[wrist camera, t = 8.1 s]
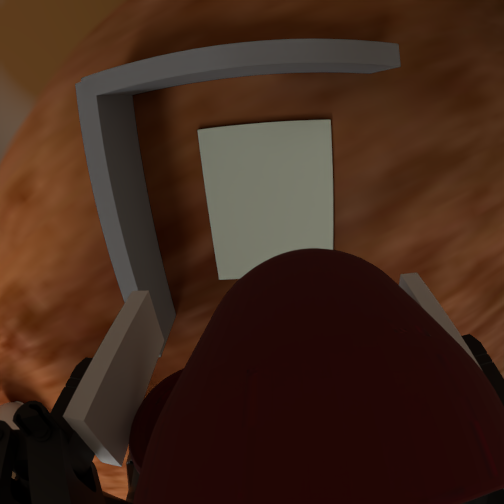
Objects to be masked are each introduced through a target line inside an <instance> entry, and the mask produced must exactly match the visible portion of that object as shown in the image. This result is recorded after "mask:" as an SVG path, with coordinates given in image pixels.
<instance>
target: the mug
mask: <svg viewBox="0 0 504 504" xmlns="http://www.w3.org/2000/svg"><path fill="white" fill-rule="evenodd" d="M129 451H130V456H131V460H132V462H133V464H134V466H135V468H136V470H137V472H138V473H139V474H140V475H139V479H138V483H137V487H136V491H135V495H134V500H133V504H463V503H465V502H468V501H471V500H474V499H476V498H479V497H482V496H484V495H487V494H490V493H492V492H495V491H498V490H501V489H503V488H504V406H503V404H502V402H501V400H500V398H499V396H498V395H497V393H496V391H495V389H494V388H493V386H492V385H491V383H490V381H489V380H488V378H487V377H486V375H485V374H484V372H483V371H482V370H481V368H480V367H479V366H478V365H477V363H476V362H475V361H474V360H473V359H472V357H471V356H470V355H469V354H468V353H467V352H466V351H465V350H464V349H463V348H462V347H461V346H460V344H459V343H458V342H457V341H456V340H455V339H454V338H453V337H452V336H451V335H450V334H449V333H448V332H447V331H446V330H445V329H444V328H443V327H442V326H441V325H440V324H439V323H438V322H437V321H436V320H435V319H434V318H433V317H432V316H431V315H429V314H428V313H427V312H426V311H425V310H424V309H423V308H422V307H421V306H420V305H419V304H418V303H417V302H416V301H415V300H414V299H413V298H412V297H411V296H410V295H409V294H407V293H406V292H405V291H404V290H403V289H402V288H401V287H400V286H399V285H398V284H397V283H396V282H395V281H393V280H392V279H391V278H390V277H389V276H388V275H387V274H385V273H384V272H383V271H382V270H380V269H379V268H377V267H376V266H374V265H373V264H371V263H369V262H367V261H365V260H363V259H362V258H359V257H357V256H354V255H351V254H348V253H344V252H341V251H336V250H331V249H320V248H307V249H298V250H293V251H289V252H285V253H282V254H279V255H277V256H274V257H272V258H270V259H268V260H266V261H264V262H262V263H261V264H259V265H257V266H256V267H254V268H253V269H252V270H250V271H249V272H248V273H246V274H245V275H244V276H243V277H241V278H240V279H239V280H238V281H237V282H236V283H235V284H234V285H233V287H232V288H231V289H230V290H229V291H228V292H227V294H226V295H225V296H224V298H223V299H222V301H221V302H220V304H219V305H218V307H217V309H216V311H215V312H214V314H213V316H212V318H211V320H210V322H209V323H208V325H207V327H206V329H205V331H204V333H203V334H202V336H201V338H200V340H199V342H198V344H197V346H196V347H195V349H194V351H193V353H192V355H191V357H190V359H189V360H188V362H187V364H186V366H185V368H184V369H182V370H179V371H177V372H175V373H173V374H172V375H170V376H169V377H167V378H165V379H164V380H163V381H161V382H160V383H159V384H158V385H157V386H156V387H154V388H153V389H152V390H151V391H150V393H149V394H148V395H147V396H146V398H145V399H144V400H143V402H142V403H141V405H140V407H139V408H138V410H137V413H136V415H135V417H134V420H133V423H132V426H131V431H130V436H129Z"/></svg>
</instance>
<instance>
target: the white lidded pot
mask: <svg viewBox="0 0 504 504" xmlns="http://www.w3.org/2000/svg"><path fill="white" fill-rule="evenodd" d="M23 404H24V403H22V402H20V401H15V402H9V403H5V404H3V405H1V406H0V420H2V421H5V422H6V423H7V424H8V425H9V426H10V427H11V428H12V429H13V430H15V429H19V428H18V427H17V425H16V424H15V423H14V422H13V421H12V420H13V416H14V414H15V412H16V410H17V409H18V408H19V407H20V406H21V405H23Z"/></svg>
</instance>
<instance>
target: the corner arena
mask: <svg viewBox="0 0 504 504" xmlns="http://www.w3.org/2000/svg"><path fill="white" fill-rule="evenodd" d="M397 67H401V65H400V55H399V45H398V44H395V43H386V42H376V41H364V40H347V39H281V40H264V41H252V42H241V43H232V44H224V45H217V46H210V47H203V48H197V49H191V50H186V51H180V52H175V53H170V54H166V55H161V56H156V57H152V58H148V59H144V60H140V61H136V62H132V63H128V64H125V65H121V66H118V67H114V68H111V69H108V70H104V71H101V72H98V73H95V74H92V75H89V76H86V77H83V78H81V81H82V82H79V83H77V84H75V85H76V94H77V103H78V111H79V118H80V125H81V131H82V137H83V143H84V149H85V155H86V160H87V165H88V170H89V175H90V180H91V185H92V189H93V194H94V198H95V202H96V206H97V211H98V215H99V219H100V223H101V226H102V230H103V234H104V238H105V241H106V245H107V248H108V252H109V255H110V259H111V262H112V265H113V269H114V272H115V275H116V278H117V281H118V284H119V287H120V290H121V293H122V296H123V299H124V302H126V301H127V299H128V297H129V296H130V294H131V292H132V291H148V290H149V294H150V297H151V300H152V304H153V307H154V310H155V313H156V316H157V320H158V323H159V326H160V329H161V332H162V335H163V338H164V343H163V346H162V349H161V351H160V354H159V357H161V355H162V352H163V349H164V347H165V344H166V341H167V338H168V336H169V333H170V330H171V328H172V325H173V322H174V319H175V317H176V313H175V309H174V306H173V302H172V298H171V294H170V291H169V287H168V283H167V279H166V275H165V271H164V267H163V262H162V258H161V254H160V250H159V245H158V241H157V236H156V232H155V227H154V223H153V218H152V213H151V208H150V203H149V198H148V193H147V187H146V182H145V177H144V171H143V165H142V159H141V153H140V147H139V141H138V134H137V127H136V120H135V113H134V105H133V97H132V95H135V94H139V93H144V92H148V91H153V90H158V89H162V88H168V87H173V86H178V85H184V84H190V83H196V82H202V81H209V80H217V79H224V78H233V77H242V76H253V75H265V74H281V73H307V72H343V73H369V74H370V73H375V72H379V71H383V70H388V69H392V68H397ZM197 131H198V139H199V146H200V154H201V162H202V169H203V176H204V184H205V191H206V198H207V205H208V211H209V218H210V225H211V231H212V238H213V244H214V251H215V257H216V263H217V269H218V275H219V280H224V279H240V278H241V277H243V276H244V275H245V274H246V273H248V272H249V271H250V270H252V269H253V268H254V267H256V266H257V265H259V264H261V263H262V262H264V261H266V260H268V259H270V258H272V257H274V256H277V255H279V254H282V253H285V252H289V251H293V250H298V249H307V248H320V249H331V250H333V164H332V139H331V120H298V121H280V122H265V123H253V124H242V125H232V126H223V127H214V128H207V129H199V130H197Z"/></svg>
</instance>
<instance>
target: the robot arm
mask: <svg viewBox="0 0 504 504" xmlns="http://www.w3.org/2000/svg"><path fill="white" fill-rule="evenodd" d="M399 286H400V287H401V288H402V289H403V290H404V291H405V292H406V293H407V294H409V295H410V296H411V297H412V298H413V299H414V300H415V301H416V302H417V303H418V304H419V305H420V306H421V307H422V308H423V309H424V310H425V311H426V312H427V313H428V314H429V315H431V316H432V317H433V318H434V319H435V320H436V321H437V322H438V323H439V324H440V325H441V326H442V327H443V328H444V329H445V330H446V331H447V332H448V333H449V334H450V335H451V336H452V337H453V338H454V339H455V340H456V341H457V342H458V343H459V344H460V346H461V347H462V348H463V349H464V350H465V351H466V352H467V353H468V354H469V355H470V356H471V357H472V359H473V360H474V361H475V362H476V363H477V365H478V366H479V367H480V368H481V370H482V371H483V372H484V374H485V375H486V377H487V378H488V380H489V381H490V383H491V385H492V386H493V388H494V389H495V391H496V393H497V395H498V396H499V398H500V400H501V402H502V404H503V406H504V379H503V377H502V375H501V374H500V372H499V370H498V369H497V367H496V366H495V364H494V362H493V363H492V359H491V358H490V356H489V355H488V354H487V352H486V350H485V348H484V347H483V345H482V344H481V342H479V341H478V340H477V339H476V338H474V337H473V336H472V335H470V334H468V335H464V336H461V335H460V334H459V332H458V330H457V329H456V327H455V326H454V324H453V323H452V321H451V320H450V318H449V317H448V315H447V314H446V313H445V311H444V310H443V308H442V307H441V305H440V304H439V302H438V301H437V300H436V298H435V297H434V295H433V294H432V293H431V291H430V290H429V288H428V287H427V286H426V284H425V283H424V282H423V280H422V279H421V278H420V276H419V275H418V274H417V273H409V274H401V275H400V282H399ZM163 343H164V338H163V335H162V332H161V329H160V326H159V323H158V320H157V316H156V313H155V310H154V307H153V304H152V300H151V297H150V294H149V290H148V291H132V292H131V294H130V296H129V297H128V299H127V301H126V302H125V304H124V305H123V307H122V309H121V310H120V312H119V314H118V316H117V317H116V319H115V321H114V322H113V324H112V326H111V327H110V329H109V331H108V333H107V334H106V336H105V338H104V340H103V341H102V343H101V345H100V347H99V348H98V350H97V352H96V354H95V356H94V357H93V358H84V359H83V360H82V361H81V362H80V363H79V364H78V365H77V366H76V367H75V369H74V371H73V372H72V374H71V376H70V379H68V381H67V383H66V387H64V388H63V390H62V392H61V394H60V396H59V398H58V400H57V401H56V403H55V405H54V407H53V409H52V411H51V413H49V411H48V410H47V409H46V408H45V406H44V405H43V404H42V403H40V402H37V401H29V402H27V403H24V404H23V405H21V406H20V407H19V408H18V409H17V410H16V412H15V414H14V416H13V420H12V421H13V422H14V423H15V424H16V425H17V427H18V428H19V429H15V430H13V429H12V428H11V427H10V426H9V425H8V424H7V423H6V422H5V421H2V420H0V504H133V500H134V495H135V491H136V487H137V483H138V479H139V475H140V474H139V473H138V472H137V470H136V468H135V466H134V464H133V462H132V460H131V456H130V452H129V455H128V458H127V462H126V466H127V478H128V488H129V490H128V495H127V498H126V501H125V500H123V499H120V498H118V497H115V496H113V495H111V494H108V493H106V492H104V491H102V489H101V485H100V481H99V477H98V473H97V469H96V467H95V465H94V463H93V462H92V461H93V458H94V455H96V456H97V457H98V458H99V459H100V461H101V462H103V463H107V464H112V465H116V466H121V467H122V463H123V460H124V457H125V454H126V451H127V447H128V444H129V436H130V431H131V426H132V423H133V420H134V417H135V415H136V413H137V410H138V408H139V407H140V405H141V403H142V402H143V399H144V396H145V393H146V390H147V388H148V385H149V382H150V379H151V376H152V373H153V371H154V368H155V365H156V362H157V359H158V357H159V354H160V351H161V349H162V346H163ZM12 471H13V472H14V473H16V477H15V479H12V478H11V476H12ZM463 504H504V488H503V489H501V490H498V491H495V492H492V493H490V494H487V495H484V496H482V497H479V498H476V499H474V500H471V501H468V502H465V503H463Z"/></svg>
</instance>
